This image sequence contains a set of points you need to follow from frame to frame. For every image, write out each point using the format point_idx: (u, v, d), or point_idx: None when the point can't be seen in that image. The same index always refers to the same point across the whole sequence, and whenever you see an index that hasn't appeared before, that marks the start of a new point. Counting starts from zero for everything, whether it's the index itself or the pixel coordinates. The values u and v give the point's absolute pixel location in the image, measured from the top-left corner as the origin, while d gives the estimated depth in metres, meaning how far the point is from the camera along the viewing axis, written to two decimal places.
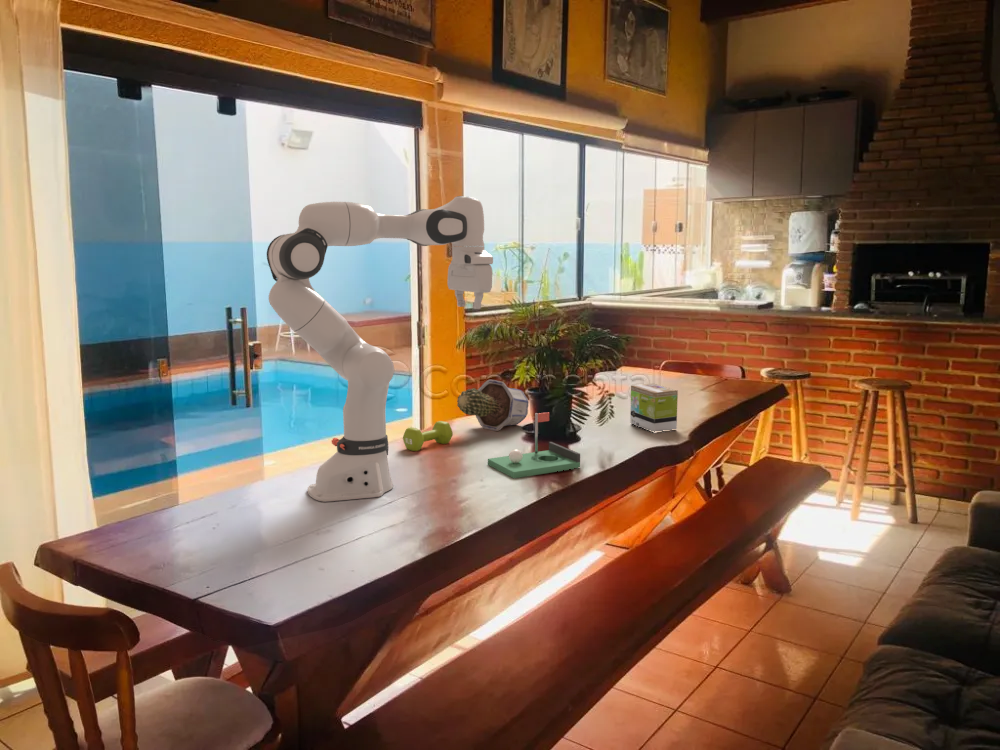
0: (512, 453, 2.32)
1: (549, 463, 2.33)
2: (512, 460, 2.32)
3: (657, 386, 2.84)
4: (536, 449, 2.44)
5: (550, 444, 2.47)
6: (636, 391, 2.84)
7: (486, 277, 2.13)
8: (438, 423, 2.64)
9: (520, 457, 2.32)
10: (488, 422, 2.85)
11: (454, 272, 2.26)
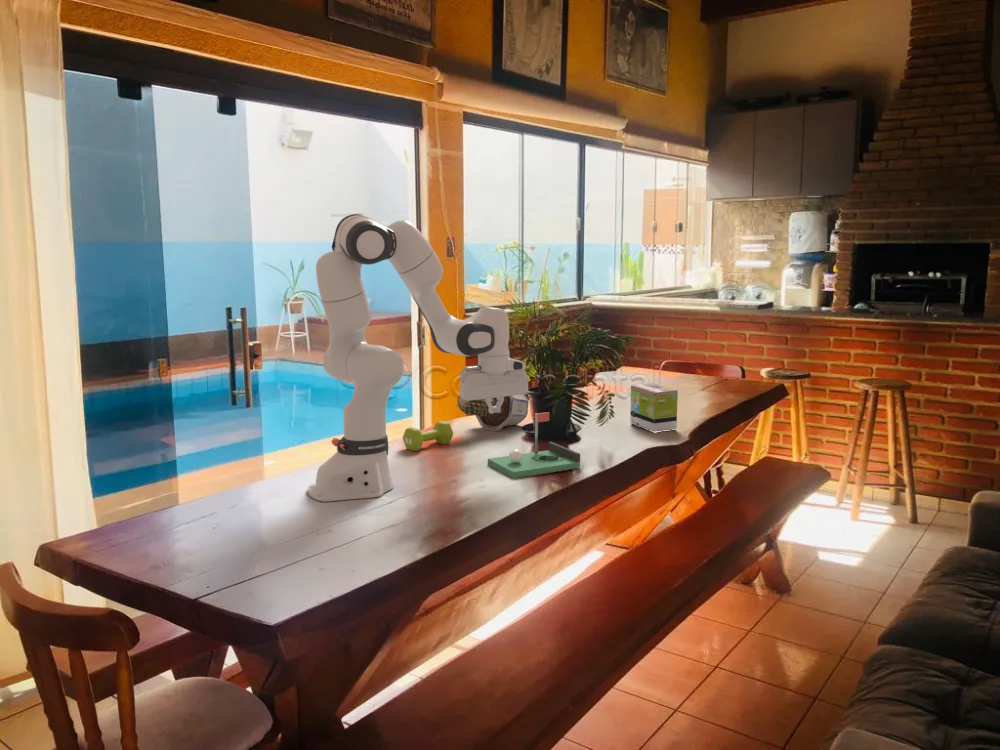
0: (512, 453, 2.32)
1: (549, 463, 2.33)
2: (512, 460, 2.32)
3: (657, 386, 2.84)
4: (536, 449, 2.44)
5: (550, 444, 2.47)
6: (636, 391, 2.84)
7: None
8: (438, 423, 2.63)
9: (520, 457, 2.32)
10: (488, 422, 2.85)
11: (478, 382, 2.23)
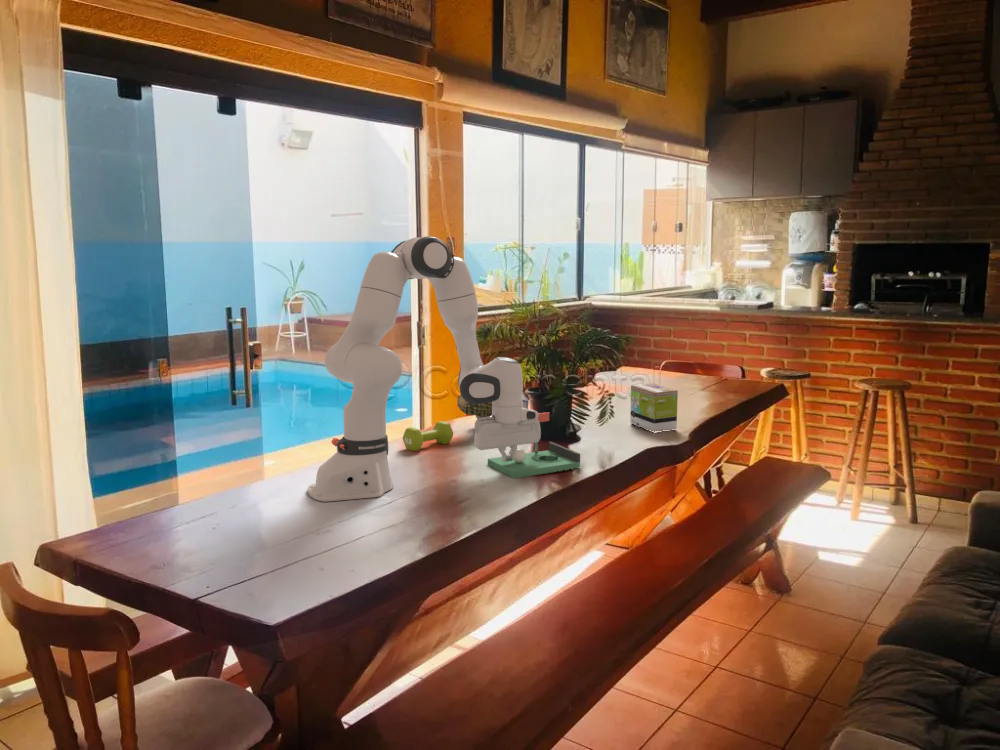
0: (517, 450, 2.33)
1: (549, 463, 2.33)
2: (515, 457, 2.32)
3: (657, 386, 2.84)
4: (536, 449, 2.44)
5: (550, 444, 2.47)
6: (636, 391, 2.84)
7: None
8: (439, 423, 2.63)
9: (523, 458, 2.33)
10: None
11: (492, 432, 2.27)
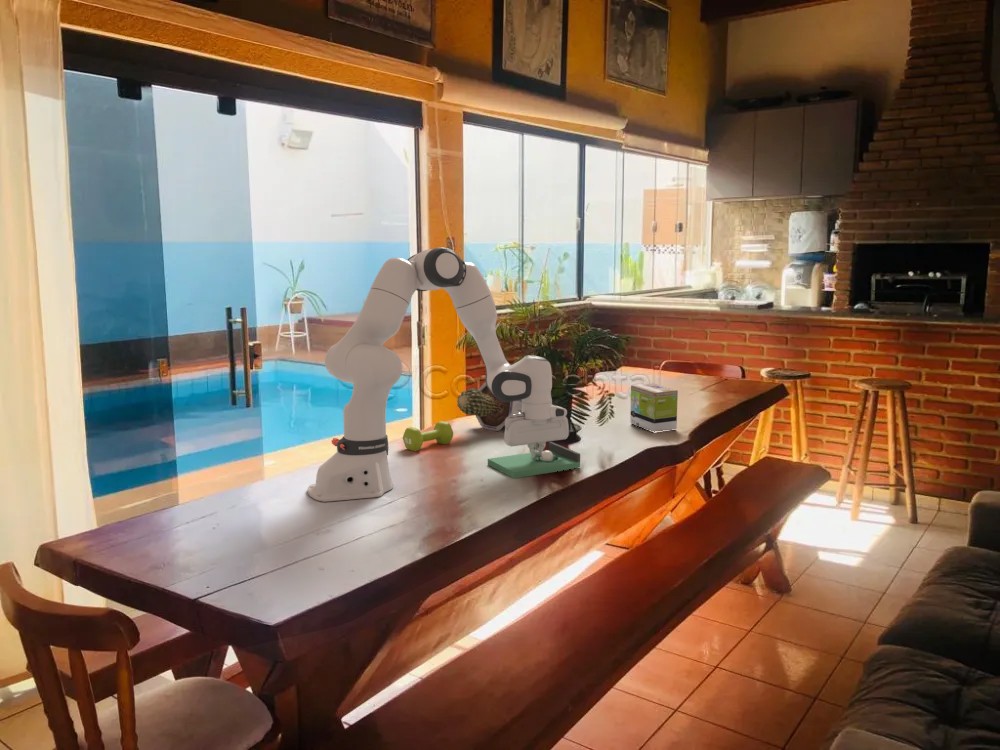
0: (542, 459, 2.37)
1: (549, 463, 2.33)
2: None
3: (657, 386, 2.84)
4: (536, 449, 2.44)
5: (550, 444, 2.47)
6: (636, 391, 2.84)
7: None
8: (439, 423, 2.63)
9: (551, 457, 2.37)
10: (488, 422, 2.85)
11: (521, 429, 2.31)
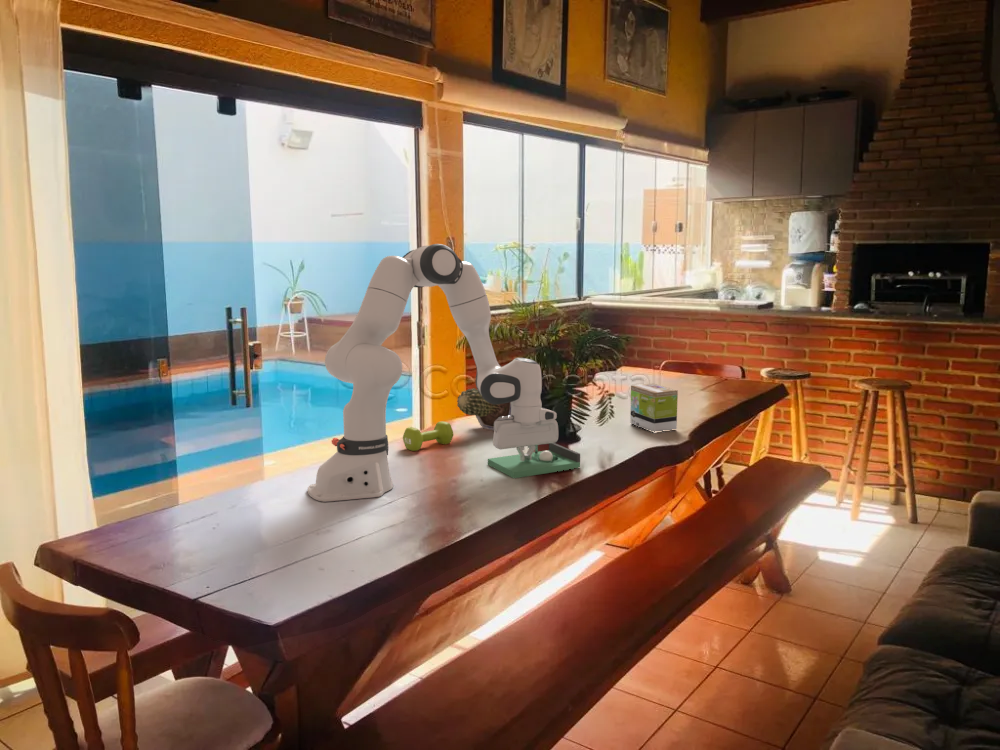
0: None
1: (549, 463, 2.33)
2: None
3: (657, 386, 2.84)
4: (536, 449, 2.44)
5: (550, 444, 2.47)
6: (636, 391, 2.84)
7: None
8: (439, 423, 2.63)
9: (550, 457, 2.37)
10: (488, 422, 2.85)
11: (511, 432, 2.30)
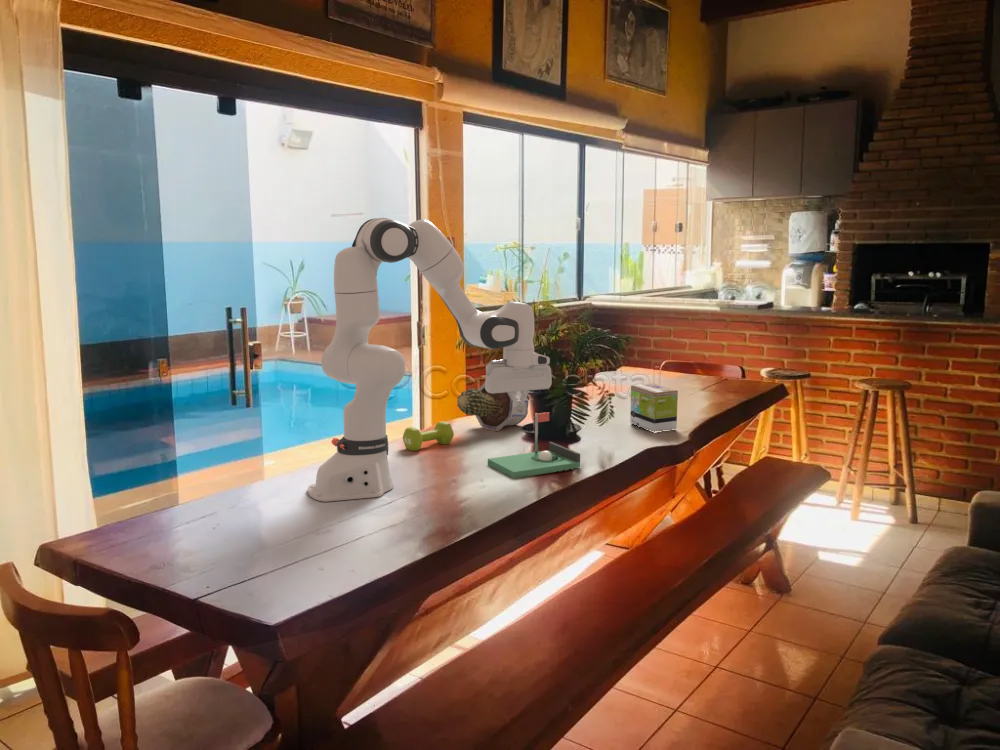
0: None
1: (549, 463, 2.33)
2: None
3: (657, 386, 2.84)
4: (536, 449, 2.44)
5: (550, 444, 2.47)
6: (636, 391, 2.84)
7: None
8: (439, 423, 2.63)
9: (549, 457, 2.37)
10: (488, 422, 2.85)
11: (503, 376, 2.26)
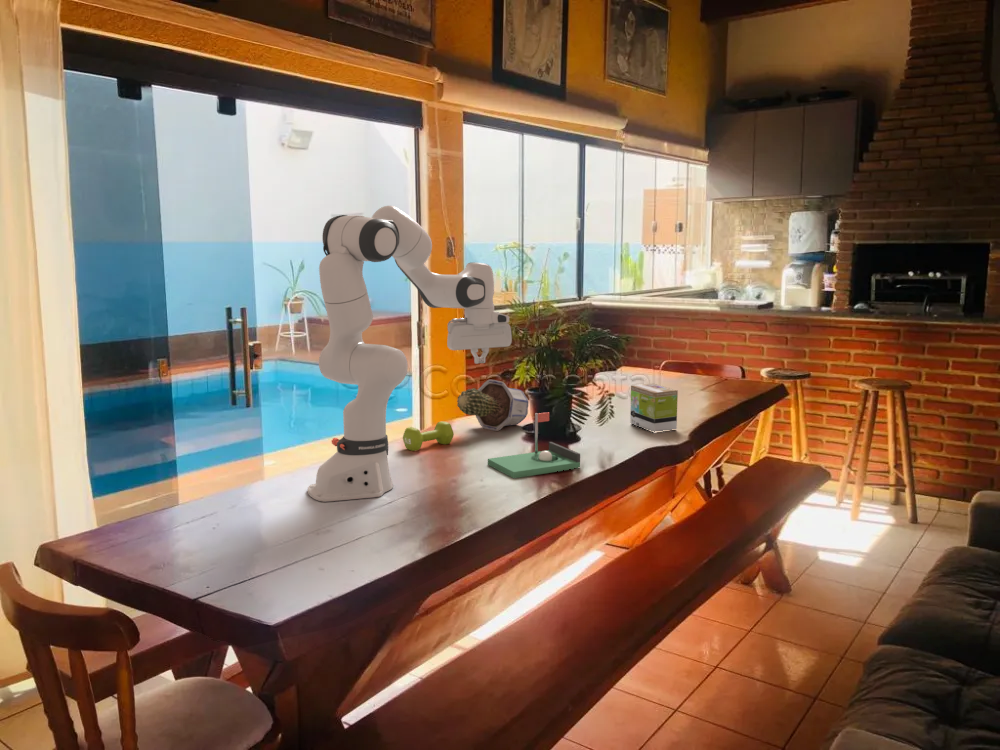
0: None
1: (549, 463, 2.33)
2: None
3: (657, 386, 2.84)
4: (536, 449, 2.44)
5: (550, 444, 2.47)
6: (636, 391, 2.84)
7: None
8: (439, 423, 2.63)
9: (550, 457, 2.37)
10: (488, 422, 2.85)
11: (464, 333, 2.37)
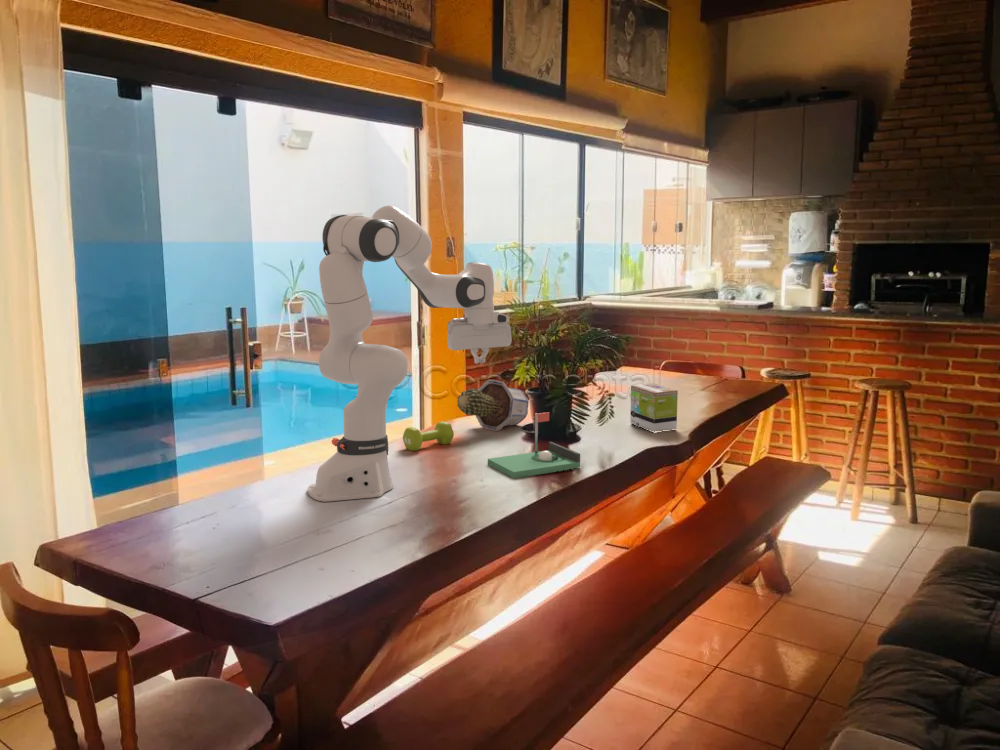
0: None
1: (549, 463, 2.33)
2: None
3: (657, 386, 2.84)
4: (536, 449, 2.44)
5: (550, 444, 2.47)
6: (636, 391, 2.84)
7: None
8: (439, 423, 2.63)
9: (550, 457, 2.37)
10: (488, 422, 2.85)
11: (464, 333, 2.37)
